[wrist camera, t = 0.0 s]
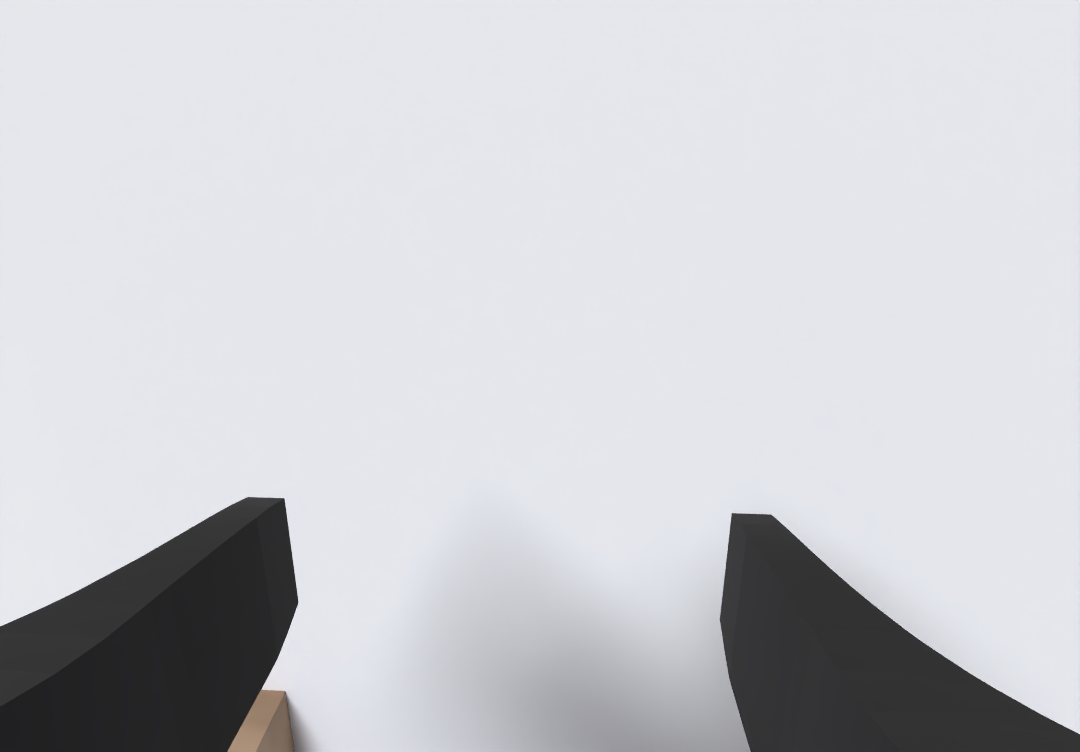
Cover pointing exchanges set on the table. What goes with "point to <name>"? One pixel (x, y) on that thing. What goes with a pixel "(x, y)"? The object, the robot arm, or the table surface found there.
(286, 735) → the walnut base
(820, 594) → the robot arm
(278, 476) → the table surface
